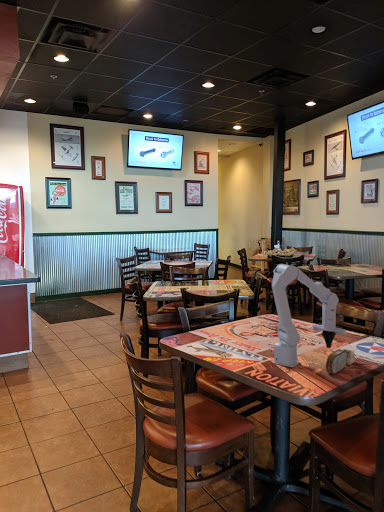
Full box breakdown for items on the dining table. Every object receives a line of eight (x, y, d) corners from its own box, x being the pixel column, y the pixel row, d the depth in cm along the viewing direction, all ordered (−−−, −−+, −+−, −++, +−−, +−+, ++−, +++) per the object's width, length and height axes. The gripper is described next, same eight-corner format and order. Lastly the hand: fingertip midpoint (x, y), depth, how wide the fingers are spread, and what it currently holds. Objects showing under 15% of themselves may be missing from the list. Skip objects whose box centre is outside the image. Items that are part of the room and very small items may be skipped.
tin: (341, 365, 169) (341, 346, 168) (348, 367, 166) (348, 347, 166) (324, 375, 158) (324, 355, 158) (332, 377, 156) (332, 356, 155)
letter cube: (338, 362, 172) (338, 351, 172) (342, 359, 176) (342, 348, 176) (350, 365, 169) (350, 353, 169) (354, 361, 173) (354, 350, 172)
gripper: (348, 318, 175) (348, 348, 176) (317, 314, 184) (317, 342, 185) (342, 321, 169) (342, 352, 170) (310, 317, 179) (310, 346, 180)
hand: (328, 347), depth 177 cm, fingers closed
